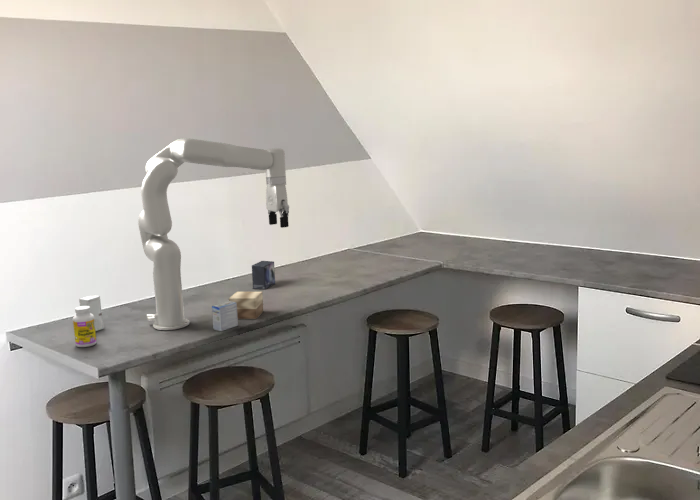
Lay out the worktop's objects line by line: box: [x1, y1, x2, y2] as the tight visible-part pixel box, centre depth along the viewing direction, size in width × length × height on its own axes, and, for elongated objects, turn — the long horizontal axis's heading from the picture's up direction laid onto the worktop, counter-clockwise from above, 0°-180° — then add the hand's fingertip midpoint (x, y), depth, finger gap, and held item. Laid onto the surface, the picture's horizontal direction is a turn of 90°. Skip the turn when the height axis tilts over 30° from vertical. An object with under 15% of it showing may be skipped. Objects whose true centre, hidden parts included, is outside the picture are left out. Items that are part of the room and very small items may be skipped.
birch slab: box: [228, 291, 264, 309], centre depth 265 cm, size 10×10×4 cm
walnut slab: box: [237, 301, 264, 320], centre depth 266 cm, size 10×10×4 cm
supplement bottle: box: [72, 305, 97, 348], centre depth 237 cm, size 7×7×13 cm
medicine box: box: [211, 300, 239, 332], centre depth 251 cm, size 8×4×9 cm, turn 141°
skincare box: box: [78, 295, 104, 332], centre depth 253 cm, size 6×4×12 cm
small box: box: [251, 260, 276, 290], centre depth 309 cm, size 11×6×10 cm, turn 161°
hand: (278, 225), depth 274 cm, fingers open, 9 cm apart
